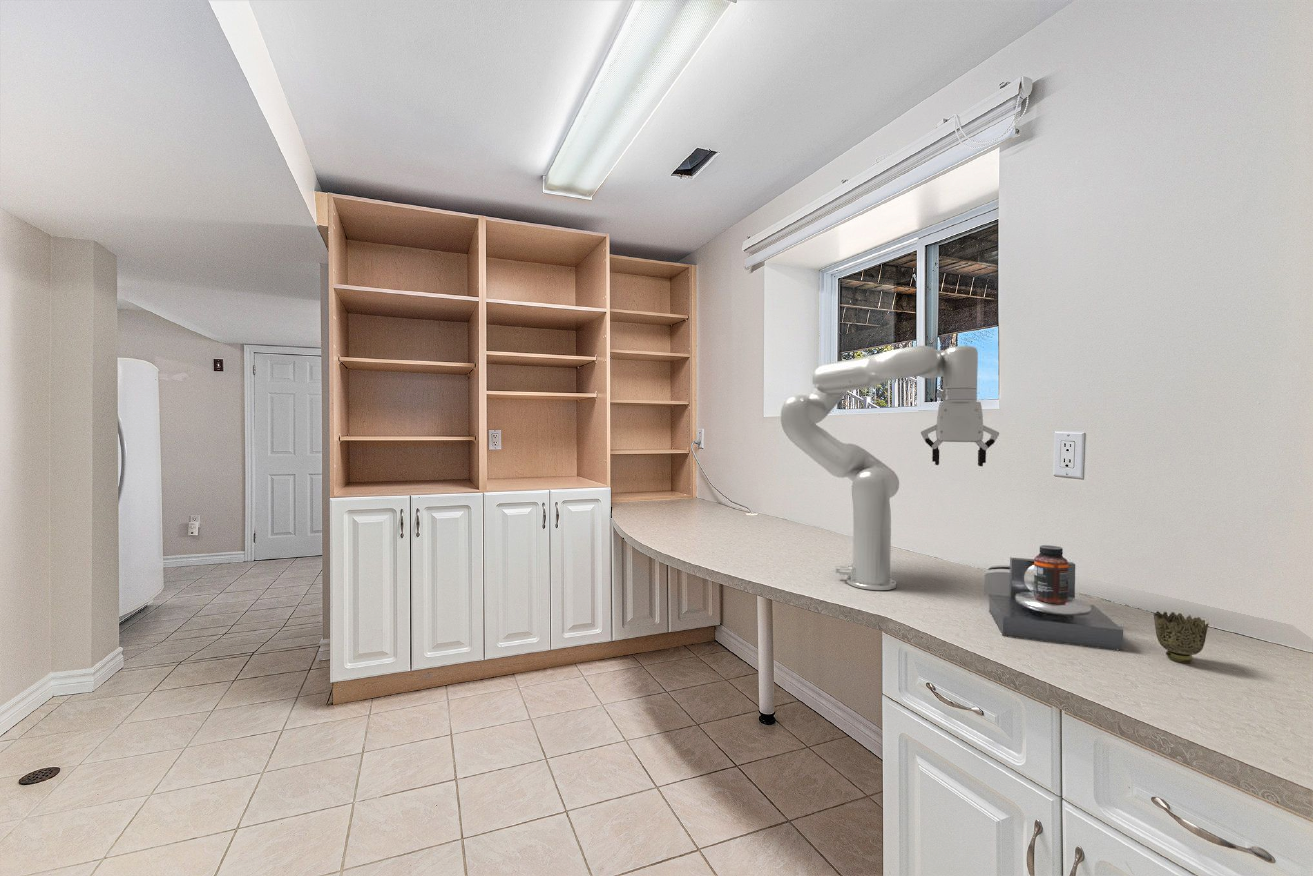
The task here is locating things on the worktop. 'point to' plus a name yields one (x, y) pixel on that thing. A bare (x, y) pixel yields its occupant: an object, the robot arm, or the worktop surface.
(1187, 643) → the cup
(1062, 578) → the supplement bottle
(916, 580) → the worktop surface
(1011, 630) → the dial scale
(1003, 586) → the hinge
